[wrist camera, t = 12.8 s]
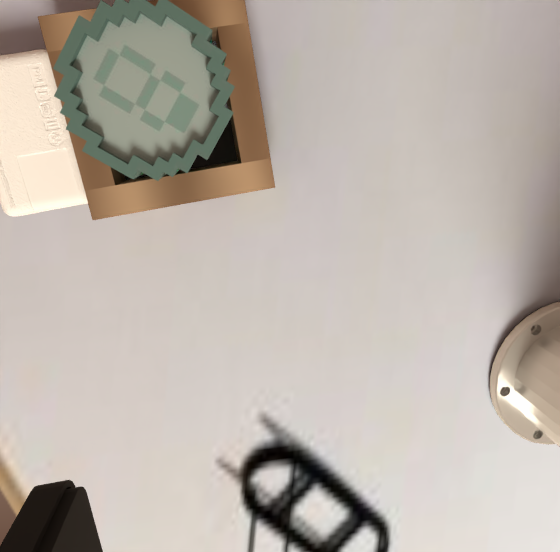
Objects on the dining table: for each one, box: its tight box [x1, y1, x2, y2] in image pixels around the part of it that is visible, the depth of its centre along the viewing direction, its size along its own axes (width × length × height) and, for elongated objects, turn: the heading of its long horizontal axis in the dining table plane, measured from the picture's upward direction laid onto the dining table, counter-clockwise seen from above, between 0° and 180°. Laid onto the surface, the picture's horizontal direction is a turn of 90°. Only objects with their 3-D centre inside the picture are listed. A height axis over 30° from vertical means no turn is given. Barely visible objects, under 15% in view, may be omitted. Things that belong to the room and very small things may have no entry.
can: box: [53, 0, 235, 181], centre depth 25 cm, size 6×6×15 cm
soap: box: [0, 49, 88, 216], centre depth 31 cm, size 9×6×3 cm, turn 10°
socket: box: [38, 0, 275, 220], centre depth 30 cm, size 11×11×4 cm
